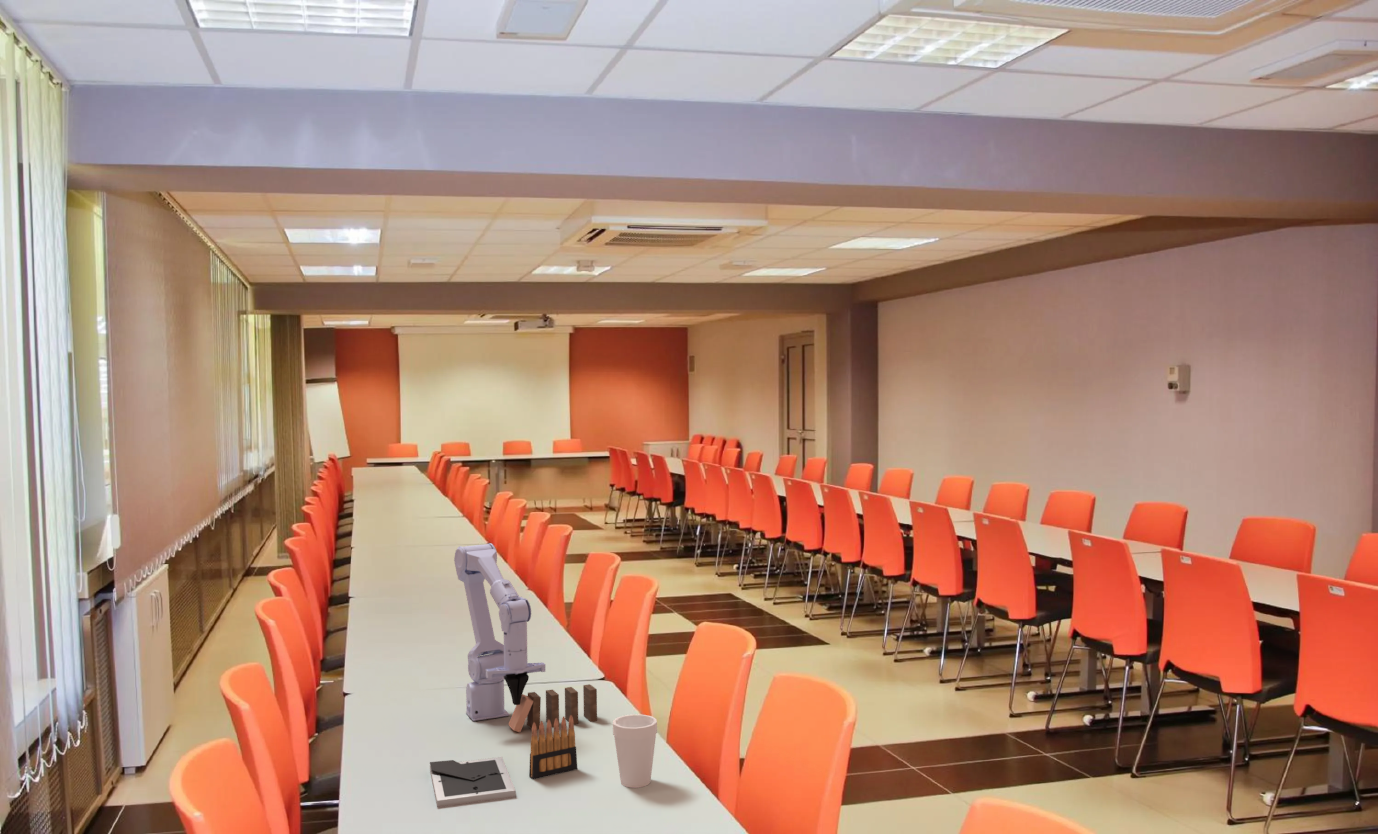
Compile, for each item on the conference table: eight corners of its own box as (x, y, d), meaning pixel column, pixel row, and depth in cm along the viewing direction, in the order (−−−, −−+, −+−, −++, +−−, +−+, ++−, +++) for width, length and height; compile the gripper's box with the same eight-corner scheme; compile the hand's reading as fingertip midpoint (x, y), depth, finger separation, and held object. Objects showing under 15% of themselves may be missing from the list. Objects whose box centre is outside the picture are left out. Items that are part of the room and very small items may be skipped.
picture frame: (430, 774, 226) (437, 810, 206) (429, 761, 226) (436, 796, 206) (502, 765, 231) (515, 800, 211) (501, 753, 231) (515, 786, 211)
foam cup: (637, 770, 225) (637, 711, 225) (666, 781, 219) (666, 720, 218) (604, 782, 219) (603, 721, 218) (633, 794, 212) (632, 731, 212)
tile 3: (552, 727, 255) (551, 695, 255) (546, 721, 260) (545, 690, 259) (559, 726, 256) (558, 694, 256) (553, 720, 260) (552, 689, 260)
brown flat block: (590, 721, 259) (589, 690, 259) (583, 716, 264) (583, 685, 264) (597, 720, 260) (596, 689, 260) (590, 715, 265) (590, 684, 264)
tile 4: (571, 724, 257) (571, 692, 257) (565, 718, 262) (564, 687, 262) (578, 723, 258) (577, 691, 258) (571, 717, 262) (571, 686, 262)
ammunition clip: (532, 779, 221) (531, 724, 221) (529, 776, 222) (528, 721, 222) (577, 769, 227) (576, 715, 226) (573, 766, 228) (573, 713, 228)
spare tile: (513, 730, 251) (527, 699, 252) (508, 724, 255) (521, 693, 257) (520, 732, 252) (533, 701, 253) (514, 726, 256) (527, 695, 257)
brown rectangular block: (532, 730, 253) (533, 697, 253) (526, 724, 257) (527, 692, 257) (539, 729, 254) (540, 697, 254) (533, 723, 258) (534, 691, 258)
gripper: (490, 656, 247) (491, 712, 247) (548, 649, 253) (549, 703, 253) (483, 649, 253) (484, 704, 253) (540, 642, 259) (541, 696, 259)
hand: (516, 703), depth 254 cm, fingers closed
